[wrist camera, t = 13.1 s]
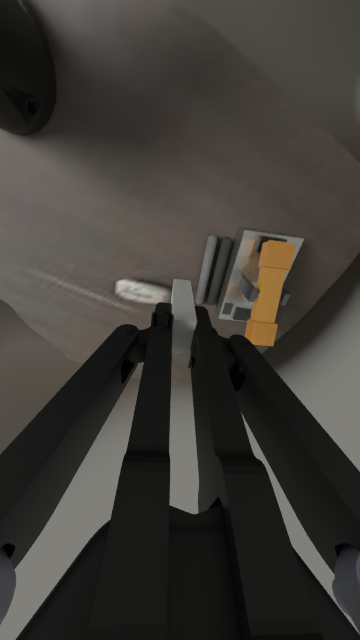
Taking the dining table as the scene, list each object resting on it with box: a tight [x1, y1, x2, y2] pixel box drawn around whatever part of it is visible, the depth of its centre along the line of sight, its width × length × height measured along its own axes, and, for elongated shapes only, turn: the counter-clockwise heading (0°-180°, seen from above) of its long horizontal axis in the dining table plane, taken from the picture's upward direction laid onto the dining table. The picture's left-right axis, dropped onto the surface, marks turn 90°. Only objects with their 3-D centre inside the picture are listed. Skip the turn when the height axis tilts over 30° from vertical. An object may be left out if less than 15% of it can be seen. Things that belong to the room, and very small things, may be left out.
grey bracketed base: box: [216, 227, 304, 322], centre depth 39 cm, size 20×12×11 cm, turn 172°
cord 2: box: [207, 237, 231, 305], centre depth 42 cm, size 16×2×2 cm, turn 172°
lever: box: [245, 240, 296, 346], centre depth 35 cm, size 19×5×3 cm, turn 172°
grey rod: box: [196, 235, 217, 304], centre depth 42 cm, size 16×2×2 cm, turn 172°
